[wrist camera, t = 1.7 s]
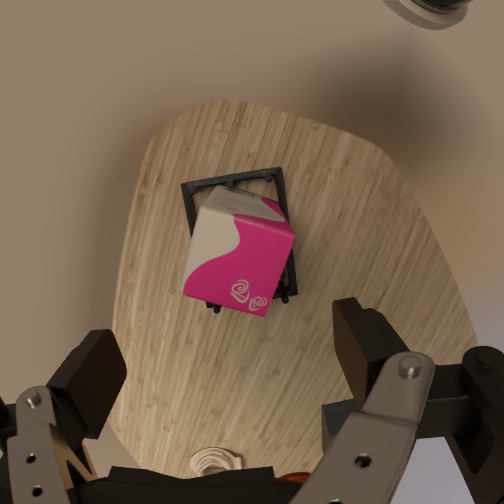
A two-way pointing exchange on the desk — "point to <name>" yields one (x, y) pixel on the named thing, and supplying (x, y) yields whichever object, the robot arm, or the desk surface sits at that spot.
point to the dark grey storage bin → (335, 420)
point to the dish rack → (197, 185)
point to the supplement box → (237, 251)
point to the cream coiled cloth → (213, 461)
